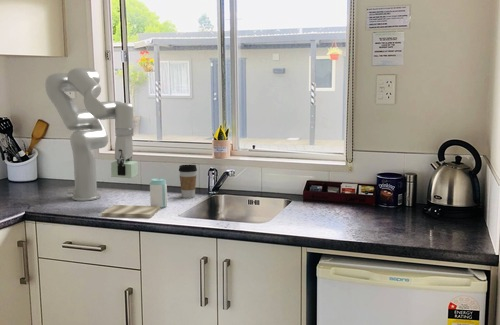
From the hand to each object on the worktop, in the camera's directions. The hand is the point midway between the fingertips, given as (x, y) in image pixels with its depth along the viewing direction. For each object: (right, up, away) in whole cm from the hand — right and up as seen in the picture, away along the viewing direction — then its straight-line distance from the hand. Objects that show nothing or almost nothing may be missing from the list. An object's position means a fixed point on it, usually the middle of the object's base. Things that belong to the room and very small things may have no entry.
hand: (124, 173), depth 235 cm
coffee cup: (+25, -12, +20) cm, 34 cm away
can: (+15, -15, 0) cm, 21 cm away
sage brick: (0, -1, 0) cm, 1 cm away
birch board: (+5, -16, -11) cm, 20 cm away
